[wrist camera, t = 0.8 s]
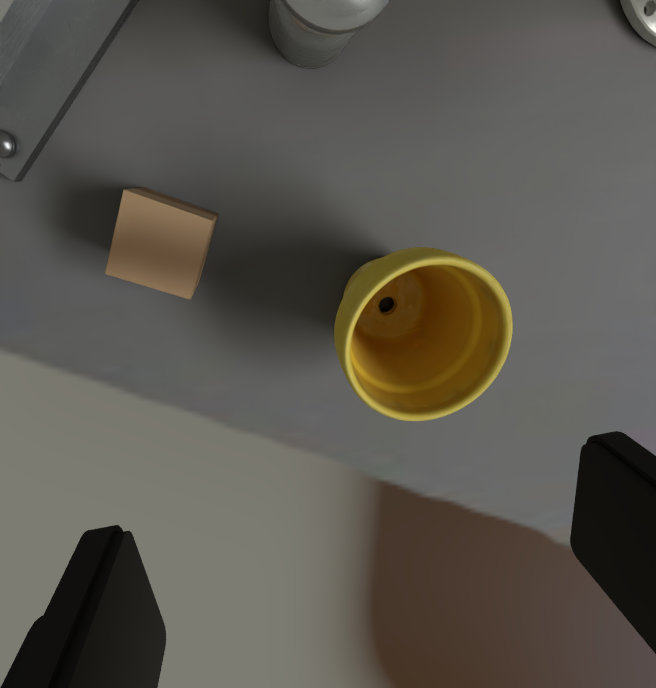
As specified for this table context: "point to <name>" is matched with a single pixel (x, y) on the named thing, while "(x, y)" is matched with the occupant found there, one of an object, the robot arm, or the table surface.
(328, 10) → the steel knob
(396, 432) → the table surface
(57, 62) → the square metal socket
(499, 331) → the plant pot
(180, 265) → the wooden cube
